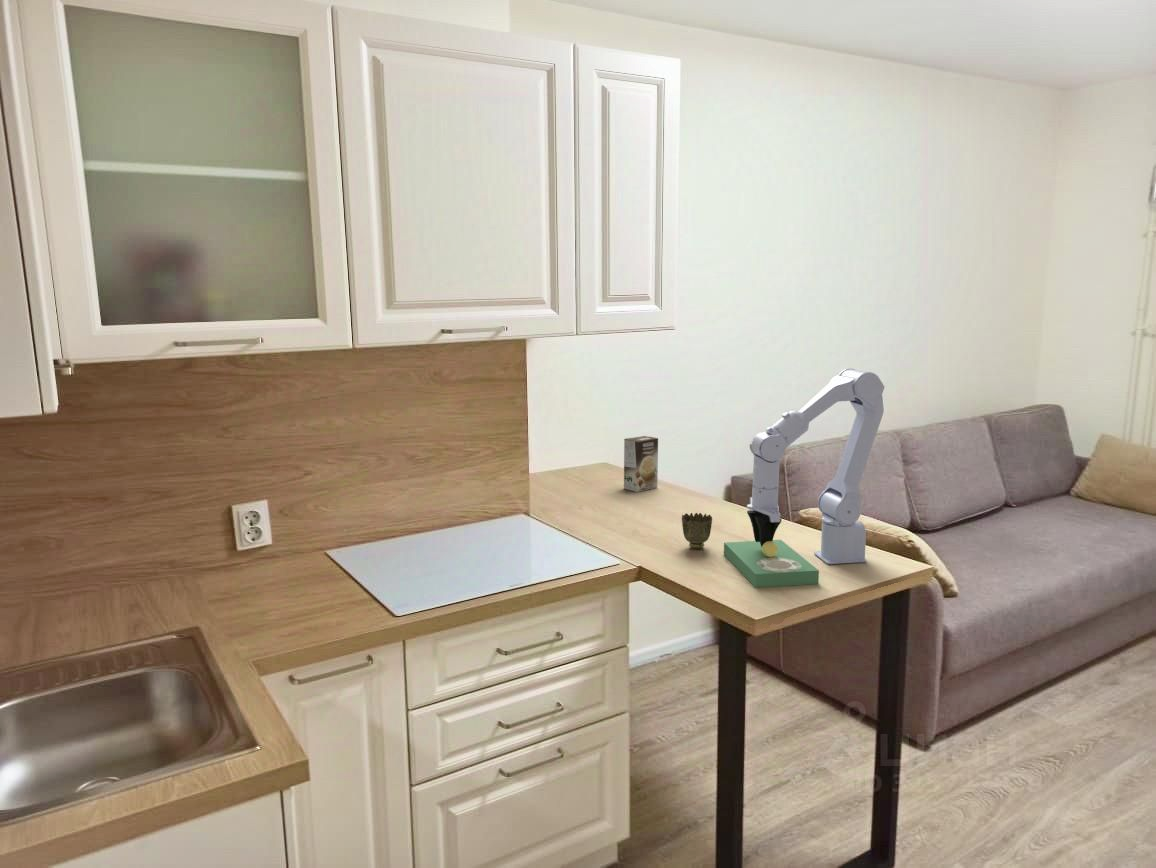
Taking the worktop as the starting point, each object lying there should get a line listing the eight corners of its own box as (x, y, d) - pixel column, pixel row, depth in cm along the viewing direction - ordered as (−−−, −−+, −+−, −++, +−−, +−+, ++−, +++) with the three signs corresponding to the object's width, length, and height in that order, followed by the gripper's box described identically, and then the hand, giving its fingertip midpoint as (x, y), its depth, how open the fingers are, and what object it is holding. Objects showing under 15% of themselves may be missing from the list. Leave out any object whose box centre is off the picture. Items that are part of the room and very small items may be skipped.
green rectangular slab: (780, 551, 199) (780, 539, 199) (818, 583, 178) (818, 570, 177) (723, 554, 197) (724, 542, 197) (755, 587, 176) (755, 574, 175)
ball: (781, 541, 186) (781, 557, 185) (771, 541, 189) (770, 557, 188) (769, 540, 184) (768, 557, 183) (758, 540, 187) (758, 556, 187)
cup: (711, 553, 198) (711, 521, 197) (680, 552, 200) (680, 519, 198) (712, 544, 205) (713, 512, 204) (682, 542, 207) (682, 511, 205)
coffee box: (637, 492, 257) (637, 441, 254) (623, 488, 261) (623, 438, 259) (658, 487, 262) (658, 437, 259) (644, 484, 267) (644, 435, 264)
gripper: (738, 479, 194) (735, 535, 196) (759, 494, 180) (756, 554, 182) (767, 478, 195) (764, 534, 197) (790, 493, 180) (787, 553, 183)
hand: (762, 544), depth 190 cm, fingers open, 3 cm apart
